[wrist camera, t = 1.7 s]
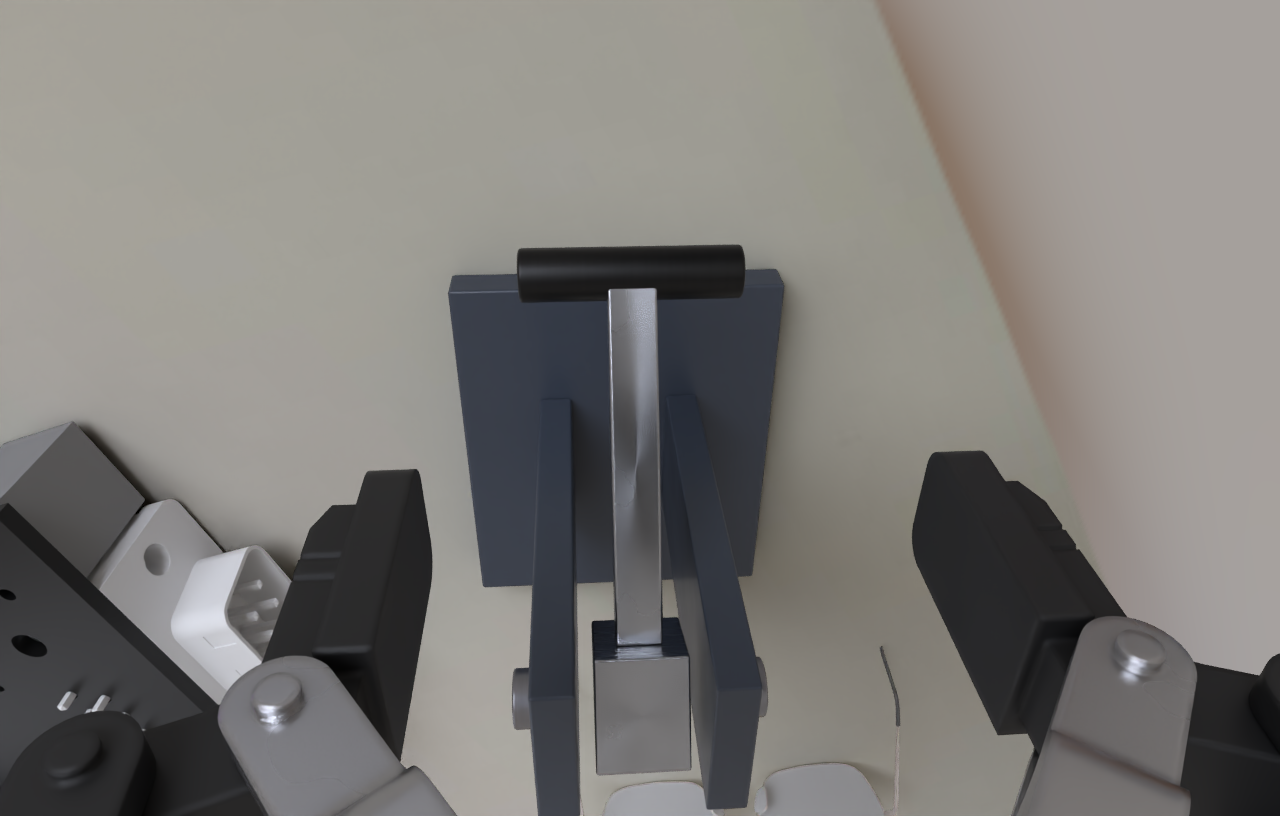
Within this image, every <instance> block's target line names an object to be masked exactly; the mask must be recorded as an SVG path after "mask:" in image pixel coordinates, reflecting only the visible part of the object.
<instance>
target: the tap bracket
mask: <svg viewBox="0 0 1280 816" xmlns="http://www.w3.org/2000/svg"><path fill="white" fill-rule="evenodd" d="M783 294H784V284H783V282H782V280H781V278H780V275H779V273H778V271H777V270H776V269H763V270H745V286H744V291H743V294H742V296H741V297H740V298H724V299H678V300H657V304H658V366H659V428H660V489H661V551H662V580H668V579H673V580H674V587H675V594H676V601H677V608H678V615H679V622H680V625H681V628H682V632H683V635H684V639H685V642H686V645H687V649H688V652H689V656H690V691H691V706H692V713H693V720H694V726H695V733H696V740H697V747H698V754H699V761H700V768H701V775H702V782H703V789H704V796H705V803H706V808H707V809H708V810H715V809H732V808H745V807H747V804H748V796H749V789H750V781H751V774H752V766H753V759H754V751H755V744H756V736H757V729H758V721H759V717H764V716H765V715H766V712H767V707H768V688H767V678H766V672H765V668H764V664H763V662H762V659H761V658H760V657H756V655H755V650H754V646H753V641H752V637H751V633H750V628H749V624H748V620H747V615H746V611H745V606H744V602H743V598H742V593H741V589H740V585H739V580H738V577H739V576H751V575H752V572H753V563H754V554H755V545H756V536H757V527H758V518H759V509H760V500H761V492H762V483H763V474H764V465H765V456H766V447H767V438H768V429H769V420H770V411H771V402H772V393H773V384H774V375H775V366H776V357H777V348H778V339H779V330H780V321H781V312H782V303H783ZM448 296H449V305H450V313H451V321H452V330H453V338H454V347H455V355H456V364H457V372H458V380H459V389H460V397H461V406H462V414H463V423H464V431H465V439H466V448H467V456H468V465H469V473H470V482H471V490H472V498H473V507H474V515H475V524H476V532H477V540H478V549H479V557H480V566H481V574H482V583H483V586H484V587H502V586H526V585H533V586H532V611H531V635H530V659H529V668H516V669H515V670H514V672H513V682H512V713H513V725H514V728H515V729H516V730H523V729H531V740H532V752H533V763H534V774H535V786H536V797H537V808H538V816H580V813H581V811H580V750H579V689H578V628H577V583H597V582H613V545H612V505H611V464H610V424H609V383H608V343H607V303H606V301H585V302H538V303H522V302H521V301H520V299H519V294H518V281H517V274H504V275H455V276H452V280H451V284H450V288H449V292H448Z"/></svg>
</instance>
